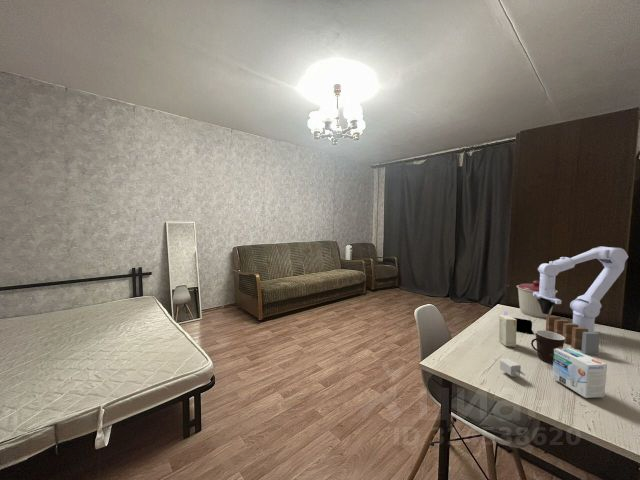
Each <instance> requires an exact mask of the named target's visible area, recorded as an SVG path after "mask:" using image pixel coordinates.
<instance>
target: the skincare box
mask: <svg viewBox="0 0 640 480" xmlns="http://www.w3.org/2000/svg"><path fill="white" fill-rule="evenodd" d="M498 318H499V319H498V341H499V342H500V343H501V344H502V345H504V347H517V332H516V326H517V320H516V319H514V318H515V317H513V316H511V315H509V314H508V315H504V314H499V317H498Z"/></svg>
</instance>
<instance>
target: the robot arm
mask: <svg viewBox="0 0 640 480" xmlns="http://www.w3.org/2000/svg"><path fill="white" fill-rule="evenodd" d="M628 258H629V255H628V253H627V251H626V250H625V249H624V248H621V247H612V246H611V247H610V246H609V247H608V246H601V245H600V246H597V247H593V248H591V249H590V250H587V251H585V252H582V253H580V254H577V255H575V256H572V257H567V256H561V257H559V259H555V260H553V261H552V260H551V261H549V262H548V263H546V262H545V263H541V264H540V265H539V266H538V267H537V271H538V272H539V282H540V285H539V293H538V292H533V296H537V297H540V299H537V301H538V302H539V304H540V307H541V310H542V313H543V314H549V312H550V309H551V308H552V306H553V307H554V305H562V299H559V298H557V297H556V296H555V297H554V292H555V290H556V277H557V276H558V275H559V273H562V272H564V271H568V270H571V269H574V268H575V266H576V265H577V264H580V263H584V262H587V261H591V260H596V259H597V260H598V261H599V262H600V263H601V264H602V266H603V267H604V268H603V269H602V270H601V272H600V273H599V274H598V275H597V277H595V280H594V281H593V283H592V284H591V285H590V287H588V289H587V291H586V292H585V293H584V294H582V295H579V296H577V297H576V298H575V299H574V300H572V301H571V302H570V303H569V307H570V309H571V310H572V324H577V325H578V327H579V328H587V329H588V332H596V331H594V330H595V321H596V317H598V316H599V315H600V313H601V308H602V307H603V306H602V304H601V302H600V301H601V300H602V299H603V298H604V296H605V294H607V292H608V291H609V290H610V288H611V287H612V286H613V284H614V283H615V282H616V281H617V279H618V278H619V277H620V276H621V274H622V273H623V271H624V270H625V265H626V264H625V263H626V261H627V260H628ZM552 309H553V308H552Z"/></svg>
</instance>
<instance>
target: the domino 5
mask: <svg viewBox="0 0 640 480" xmlns="http://www.w3.org/2000/svg"><path fill="white" fill-rule="evenodd" d="M599 344H600V333H598V332H597V331H595V332H583V336H582V349H580V350H581V351H580V352H581V353H583V354H585V355H587V356H594V355H595V356H598V355H599V349H600V348H599Z"/></svg>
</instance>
